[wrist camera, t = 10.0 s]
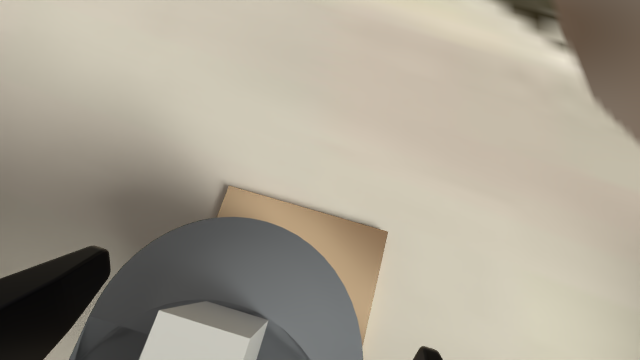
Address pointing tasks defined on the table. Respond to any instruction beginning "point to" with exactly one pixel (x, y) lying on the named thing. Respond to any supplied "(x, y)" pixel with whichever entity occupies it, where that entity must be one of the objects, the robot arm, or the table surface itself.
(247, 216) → the cork pad
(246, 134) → the table surface
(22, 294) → the robot arm
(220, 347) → the grey tall rounded piece
